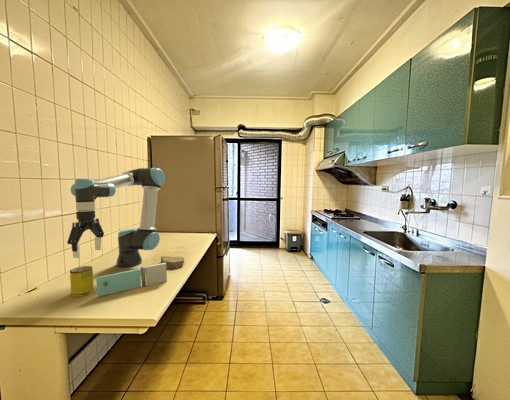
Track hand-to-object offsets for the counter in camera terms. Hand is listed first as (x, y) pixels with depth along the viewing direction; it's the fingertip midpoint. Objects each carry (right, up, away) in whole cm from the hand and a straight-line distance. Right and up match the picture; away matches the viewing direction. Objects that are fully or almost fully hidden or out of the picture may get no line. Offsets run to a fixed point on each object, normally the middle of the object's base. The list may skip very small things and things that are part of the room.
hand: (88, 253), depth 119 cm
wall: (+24, -19, +9) cm, 32 cm away
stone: (+28, -17, +41) cm, 52 cm away
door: (+15, -19, +1) cm, 24 cm away
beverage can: (-3, -20, +1) cm, 20 cm away
